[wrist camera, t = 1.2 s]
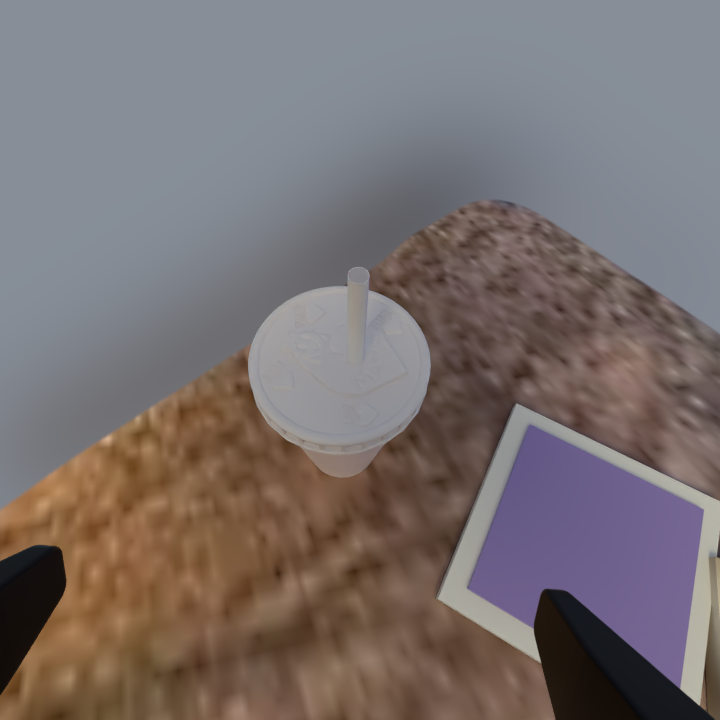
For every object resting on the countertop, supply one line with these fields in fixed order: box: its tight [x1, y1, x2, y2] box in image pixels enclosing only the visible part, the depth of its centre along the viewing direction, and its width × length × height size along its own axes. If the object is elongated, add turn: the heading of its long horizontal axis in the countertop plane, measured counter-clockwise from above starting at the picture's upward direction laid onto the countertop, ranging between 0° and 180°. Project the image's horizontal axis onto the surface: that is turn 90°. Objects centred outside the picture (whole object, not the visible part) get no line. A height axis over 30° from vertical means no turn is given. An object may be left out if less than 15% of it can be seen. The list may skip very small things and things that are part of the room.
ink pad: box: [435, 403, 720, 706], centre depth 20 cm, size 11×11×1 cm
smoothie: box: [248, 267, 431, 478], centre depth 17 cm, size 6×6×14 cm
